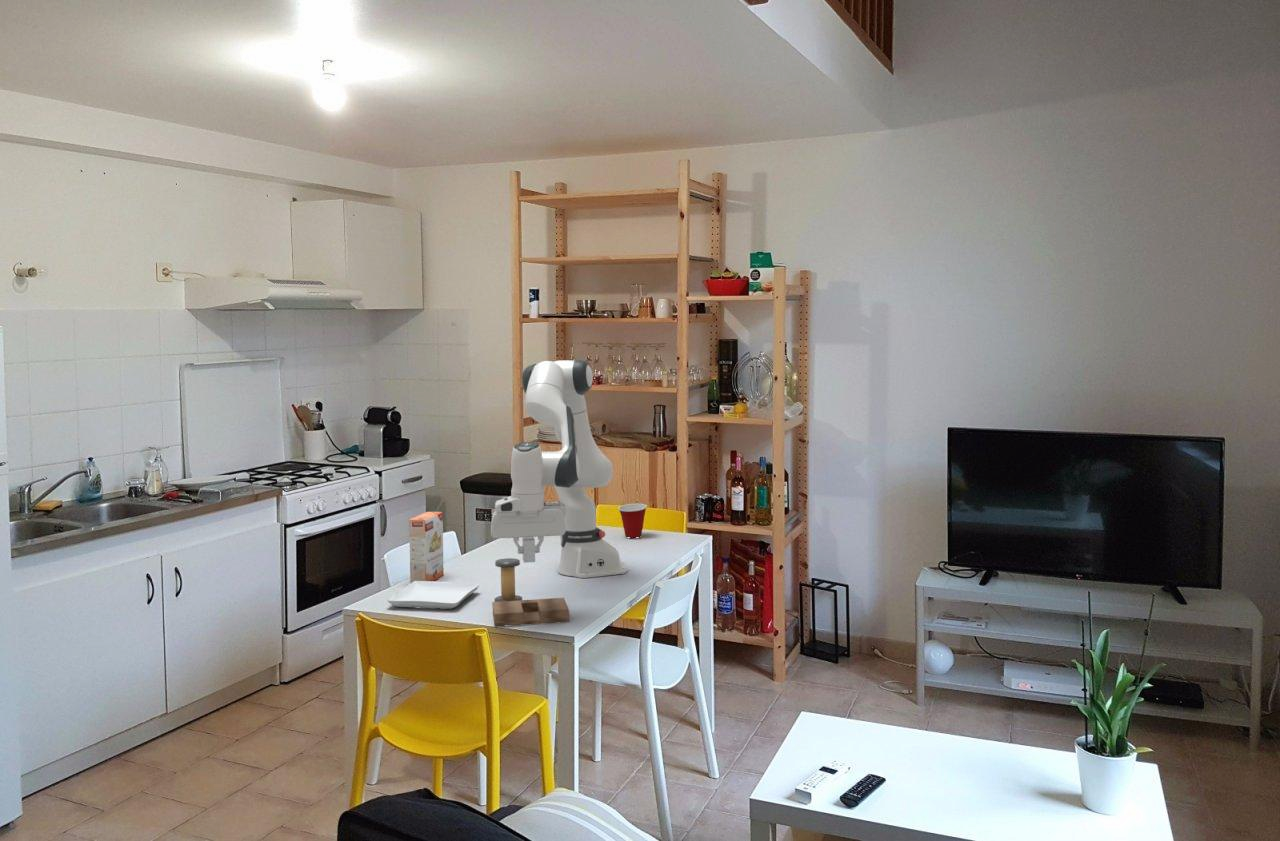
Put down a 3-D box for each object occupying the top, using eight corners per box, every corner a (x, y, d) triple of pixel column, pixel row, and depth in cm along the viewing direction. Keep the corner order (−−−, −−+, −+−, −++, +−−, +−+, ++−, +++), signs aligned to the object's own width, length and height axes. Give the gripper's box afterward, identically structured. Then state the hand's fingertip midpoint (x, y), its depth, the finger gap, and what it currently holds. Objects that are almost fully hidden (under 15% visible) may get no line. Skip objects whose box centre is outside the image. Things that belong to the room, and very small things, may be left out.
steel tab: (533, 557, 284) (533, 536, 283) (535, 562, 279) (534, 540, 279) (522, 558, 283) (522, 536, 283) (524, 562, 279) (523, 540, 278)
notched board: (564, 609, 292) (563, 597, 291) (569, 621, 280) (568, 609, 280) (492, 614, 288) (492, 602, 288) (494, 626, 276) (494, 614, 276)
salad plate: (456, 613, 291) (456, 601, 290) (385, 610, 294) (385, 599, 294) (481, 593, 311) (481, 582, 311) (414, 591, 315) (414, 580, 315)
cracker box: (428, 586, 319) (425, 519, 317) (409, 585, 321) (407, 519, 319) (445, 575, 333) (443, 511, 331) (427, 574, 334) (425, 510, 332)
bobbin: (521, 599, 303) (520, 557, 302) (523, 606, 296) (522, 563, 294) (494, 600, 302) (492, 558, 301) (495, 608, 294) (494, 565, 293)
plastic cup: (612, 537, 387) (611, 506, 386) (633, 533, 394) (633, 502, 393) (631, 542, 379) (631, 509, 378) (653, 537, 386) (652, 505, 385)
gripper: (564, 499, 285) (565, 548, 286) (489, 502, 281) (490, 552, 282) (567, 503, 279) (568, 553, 280) (490, 506, 275) (491, 557, 276)
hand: (528, 552), depth 281 cm, fingers closed on steel tab, 3 cm apart
